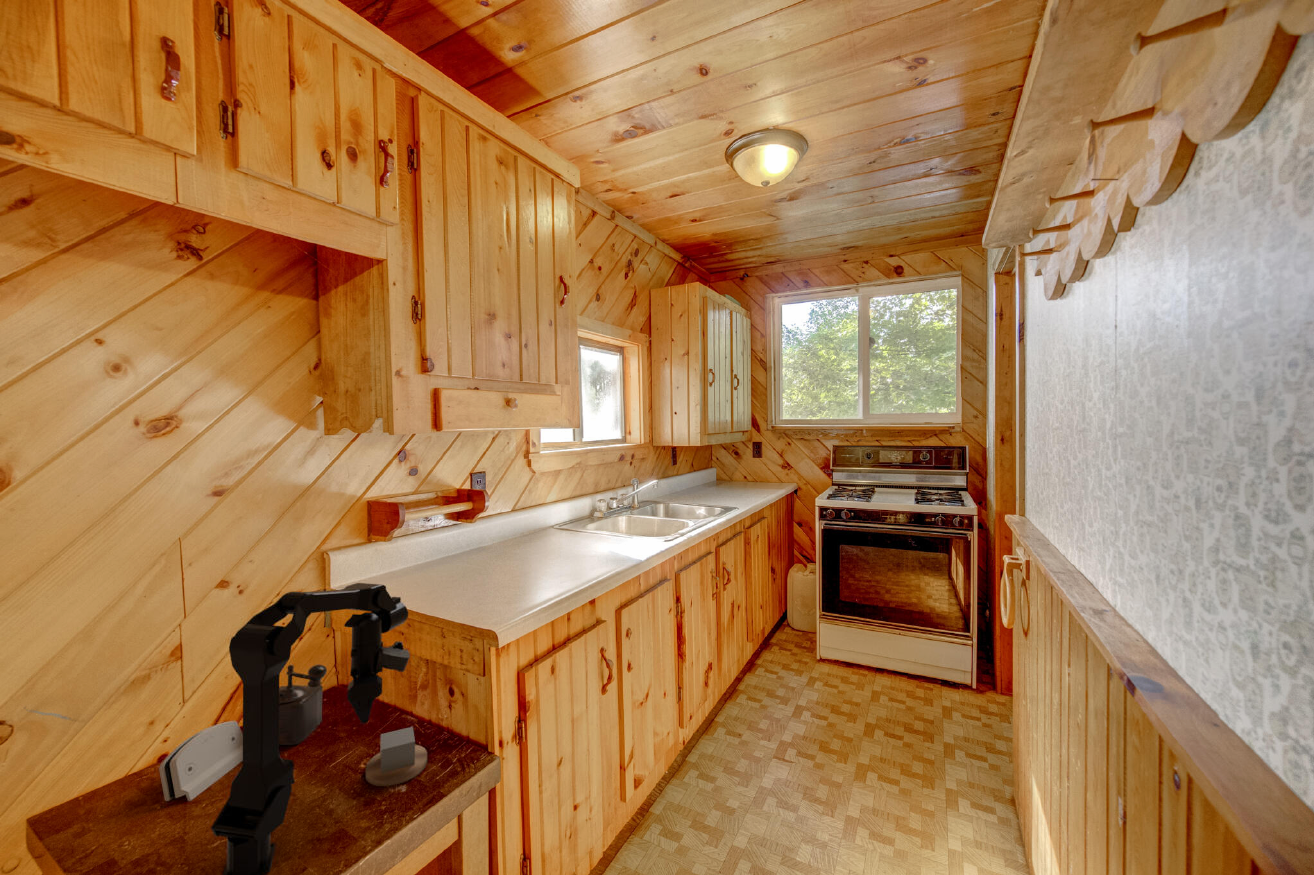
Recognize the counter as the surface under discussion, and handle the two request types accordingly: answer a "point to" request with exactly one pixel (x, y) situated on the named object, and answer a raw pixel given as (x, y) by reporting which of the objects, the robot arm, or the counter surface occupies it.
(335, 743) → the counter surface
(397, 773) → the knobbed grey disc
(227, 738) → the grey napkin holder
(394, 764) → the grey block
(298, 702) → the dark grey coffee grinder
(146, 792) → the counter surface
